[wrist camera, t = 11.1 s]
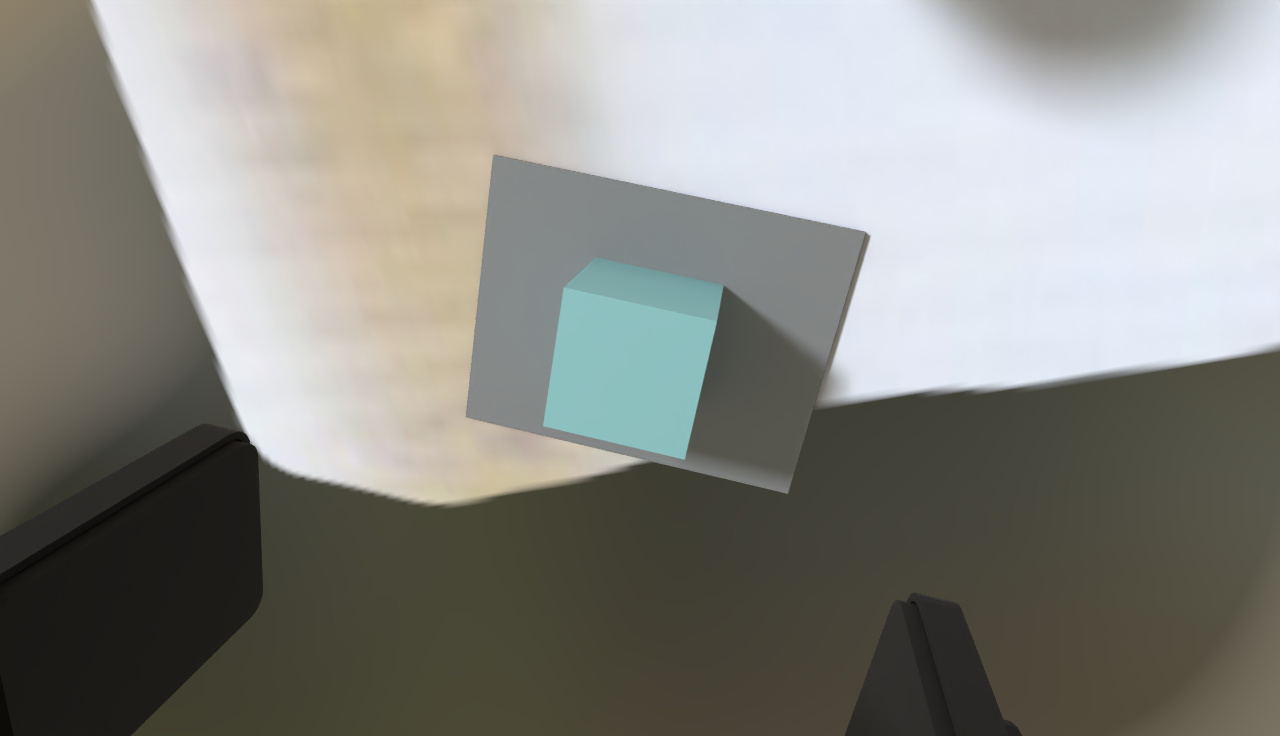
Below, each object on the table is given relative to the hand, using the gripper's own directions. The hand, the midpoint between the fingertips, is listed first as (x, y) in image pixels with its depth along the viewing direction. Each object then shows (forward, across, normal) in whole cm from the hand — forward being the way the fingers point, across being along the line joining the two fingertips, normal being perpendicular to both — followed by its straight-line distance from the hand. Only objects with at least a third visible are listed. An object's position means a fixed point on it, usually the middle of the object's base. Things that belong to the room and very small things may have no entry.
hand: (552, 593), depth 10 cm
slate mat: (+19, +1, +2) cm, 19 cm away
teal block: (+19, +1, +2) cm, 19 cm away
